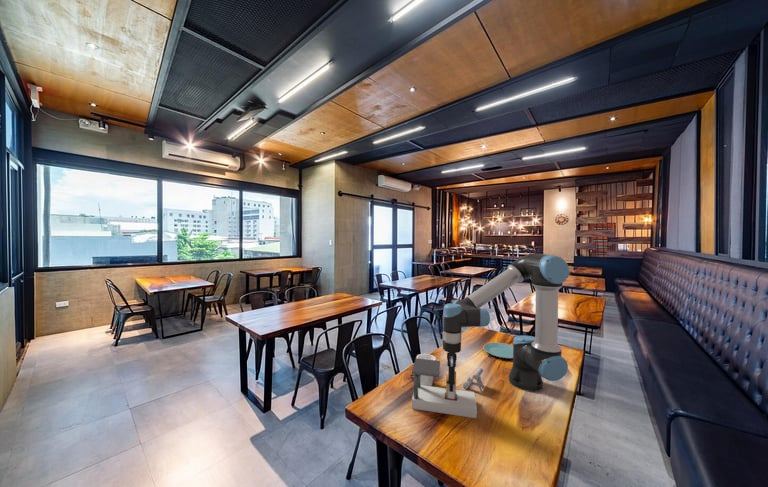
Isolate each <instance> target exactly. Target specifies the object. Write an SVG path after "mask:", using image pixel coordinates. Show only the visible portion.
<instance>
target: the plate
mask: <svg viewBox="0 0 768 487" xmlns="http://www.w3.org/2000/svg"><path fill="white" fill-rule="evenodd" d="M482 349H483V350H484V351H485V352H486V353H488V354H489V355H491V356H493V357H495V356H496V358H498V357H499V358H498V359H504V358H505V359H506V360H510V359H513V344H512V345H511V344H509V343H502V342H488V343H484V345H483V347H482ZM505 359H504V360H505Z"/></svg>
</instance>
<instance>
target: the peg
mask: <svg viewBox="0 0 768 487" xmlns="http://www.w3.org/2000/svg"><path fill="white" fill-rule="evenodd" d="M445 372H446V377H445V379H446V382H445V383H446V384H445V385H446V386H445V387H446V399H447V400H454V401H456V390H457V371H455V392H454V399H452V398H448V383H447V381H448V376H449V369H447V370H446V371H445Z"/></svg>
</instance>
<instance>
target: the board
mask: <svg viewBox="0 0 768 487" xmlns="http://www.w3.org/2000/svg"><path fill="white" fill-rule="evenodd" d="M476 399H477V398H476V394H475V392H474V391H467V390H463V389H462V390H461V389H459V390H458V389H456V401H454V400H447V399H446V388H445V387H439V386H424V385H421V387H420V388H418V399H414V391H413V392H412V397H411V409H412V410H419V411H424V412H426V411H427V412H432V413H439V414H445V415H453V416H459V417H466V418H472V419H478V418H477V417H478V416H477V415H478V407H477V400H476Z"/></svg>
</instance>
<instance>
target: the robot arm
mask: <svg viewBox="0 0 768 487" xmlns="http://www.w3.org/2000/svg"><path fill="white" fill-rule="evenodd" d="M569 276H570V268H569V265H568V263H567V261H566V260H565V259H564V258H562V257H560V256H557V255H553V254H545V253H544V254H543V253H528V254H525V255H523V256H521V257H519V258H518V259H516V260H515V261H513V262H512V263H510V264H509V265H507V268H506V269H505V270H503V271H502V272H501V273H499V274H498V275H497V276H495V277H494V278H492V279H491V280H488V282H486V283H485V284H483V285H482V286H481V287H479V288H478V289H476V290H475V291H473V292H472V293H470V294H469V295H467V296H466V297H465V298H463V299H455V300H454V301H453V302H452V303H446V304H444V306H443V312H442V316H443V318H442V319H443V321H442V322H443V324H442V329H443V330H442V332H441V335H442V340H443V341H442V349H443V351H444V352H446V360H447V367H448V370H449V376H448V381H447V383H448V398H452V399H454V392H455V369H456V367H457V354H458V353H460V352H461V351H462V328H472V327H474V328H475V327H476V328H477V327H479V328H481V327H487V326H489V324H490V322H491V317H490V316H491V315H490V312H489V310H488V309H486V308H483V306H485V305H486V304H487V303H489V302H491V301H492V300H493V299H496V298H497V297H498V296H500V295H501V294H502V293H504V292H505V291H506V290H508V289H510V288H511V287H513V286H514V285H515V284H517V283H518V282H519V283H522V282H524V281H526V280H528V279H531V285H532V286H533V287H534V288H535V318H534V319H535V322H534V324H535V325H534V326H535V334H534V336H532V335H516V336H514V337H513V343H512V346H513V358H512V367H511V369H510V371H509V374H508V382H509V384H511V385H512V386H514V387H515V388H517V389H520V390H522V391H526V392H527V391H528V392H540V391H541V390H543V388H544V381H543V378H544V379H545V380H547V381H549V382H556V381H559V380H561V379H562V378H563V377H564V376H566V374H567V372H568V369H569V365H568V362H567V360H566V359H565V357H563V356H562V347H561V346H560V345H559V344H558V340H559V338H558V337H559V336H558V335H559V334H558V330H559V329H558V328H559V325H558V324H559V322H558V320H559V291H560V289H561V288H563V283H565V282H566V281H567V279H568V278H569Z"/></svg>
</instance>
